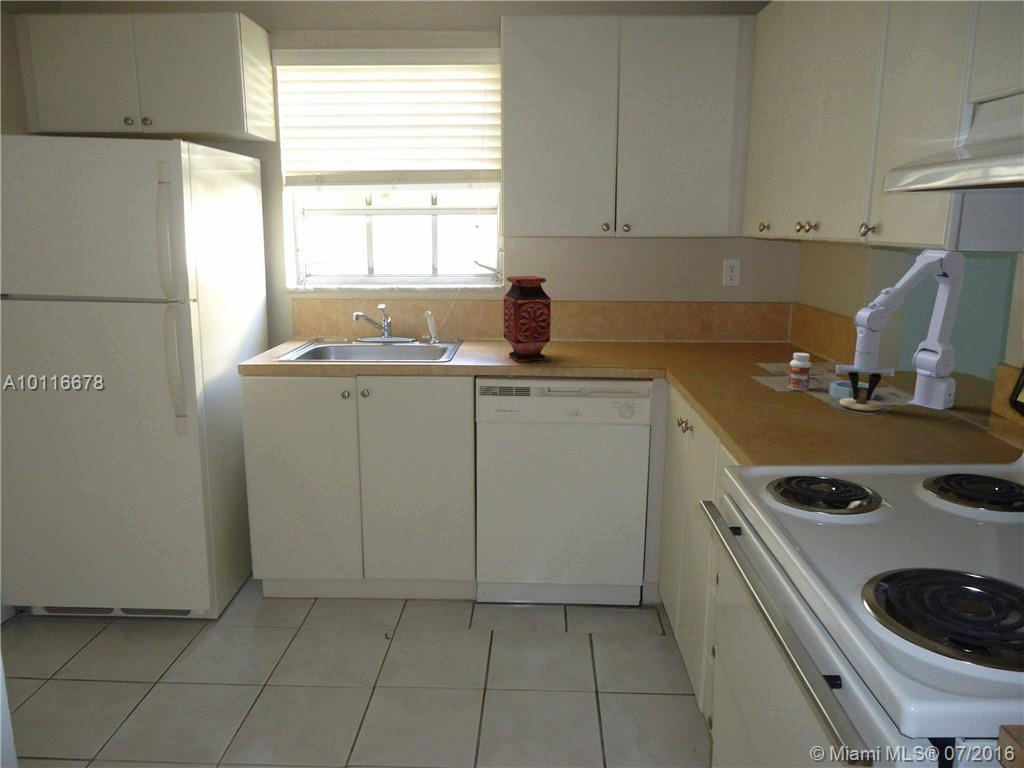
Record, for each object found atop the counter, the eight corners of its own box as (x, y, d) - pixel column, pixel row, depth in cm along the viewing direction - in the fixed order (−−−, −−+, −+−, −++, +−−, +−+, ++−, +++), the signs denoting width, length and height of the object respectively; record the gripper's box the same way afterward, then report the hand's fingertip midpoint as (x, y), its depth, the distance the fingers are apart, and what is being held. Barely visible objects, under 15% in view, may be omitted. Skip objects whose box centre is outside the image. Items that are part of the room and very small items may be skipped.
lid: (890, 406, 206) (892, 389, 205) (869, 412, 200) (871, 394, 199) (852, 398, 215) (854, 381, 214) (831, 404, 209) (833, 387, 207)
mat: (892, 410, 207) (892, 408, 206) (869, 416, 200) (869, 415, 199) (851, 401, 216) (851, 399, 216) (828, 407, 209) (828, 406, 209)
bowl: (879, 397, 220) (881, 386, 219) (859, 403, 213) (860, 391, 213) (843, 390, 229) (844, 379, 228) (822, 395, 222) (823, 384, 222)
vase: (537, 354, 284) (538, 275, 277) (550, 361, 271) (551, 278, 264) (503, 356, 280) (503, 276, 273) (514, 363, 267) (514, 279, 260)
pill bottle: (787, 390, 229) (790, 354, 226) (787, 385, 234) (791, 351, 232) (808, 392, 227) (812, 356, 224) (808, 387, 232) (812, 352, 230)
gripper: (893, 350, 206) (887, 398, 209) (837, 347, 210) (832, 394, 213) (898, 355, 199) (892, 404, 202) (839, 352, 203) (834, 400, 206)
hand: (861, 399), depth 207 cm, fingers closed on lid, 3 cm apart
